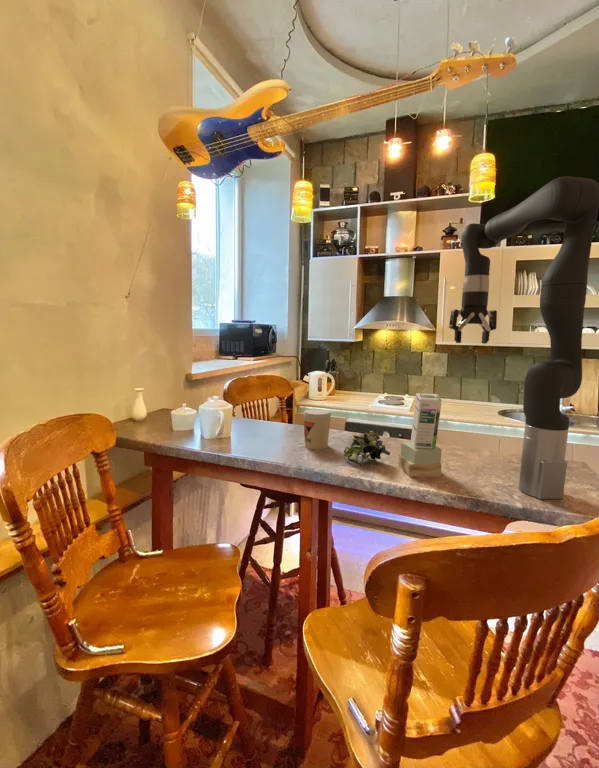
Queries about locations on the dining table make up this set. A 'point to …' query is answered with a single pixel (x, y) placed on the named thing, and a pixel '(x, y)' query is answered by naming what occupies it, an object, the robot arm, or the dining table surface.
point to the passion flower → (366, 447)
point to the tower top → (420, 454)
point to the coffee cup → (316, 428)
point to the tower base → (419, 468)
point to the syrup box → (426, 420)
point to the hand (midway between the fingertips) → (471, 343)
